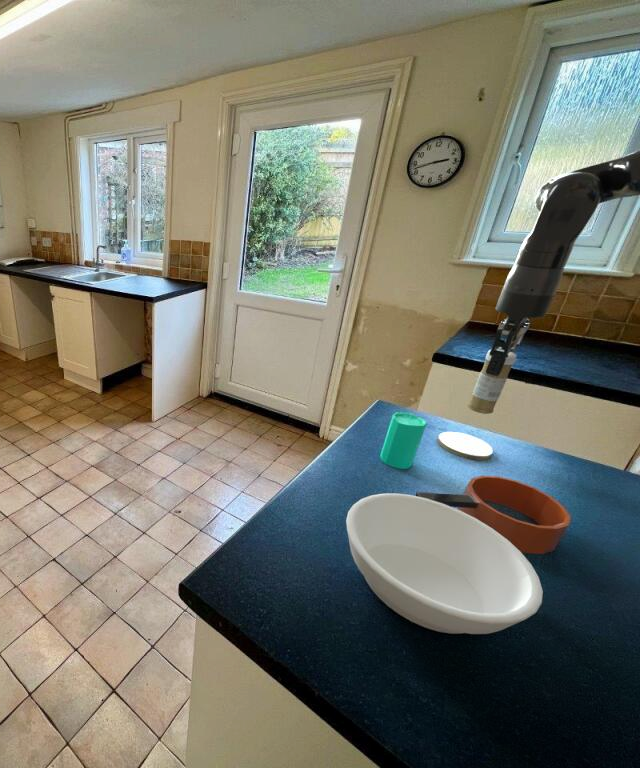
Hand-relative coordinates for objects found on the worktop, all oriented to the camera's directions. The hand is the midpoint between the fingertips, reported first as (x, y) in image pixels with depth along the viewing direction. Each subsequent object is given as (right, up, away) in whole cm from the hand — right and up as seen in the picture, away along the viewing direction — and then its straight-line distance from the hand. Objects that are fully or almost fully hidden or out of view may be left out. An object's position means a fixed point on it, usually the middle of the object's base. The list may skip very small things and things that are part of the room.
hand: (495, 370), depth 87 cm
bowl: (-34, -33, -25) cm, 54 cm away
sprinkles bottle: (0, -9, +4) cm, 10 cm away
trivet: (0, -17, +8) cm, 19 cm away
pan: (-15, -27, -13) cm, 34 cm away
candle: (-19, -20, +4) cm, 27 cm away
